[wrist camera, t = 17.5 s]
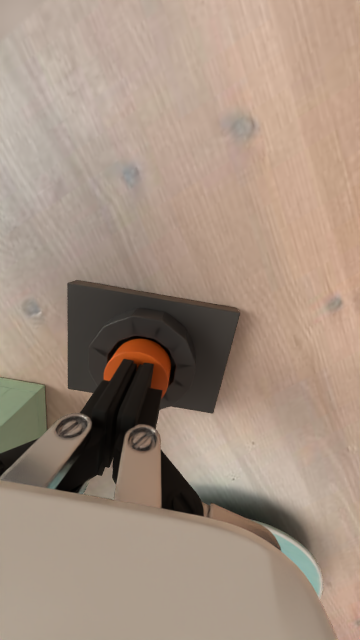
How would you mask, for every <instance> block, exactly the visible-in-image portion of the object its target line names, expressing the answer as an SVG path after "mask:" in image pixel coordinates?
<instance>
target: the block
mask: <svg viewBox="0 0 360 640" xmlns="http://www.w3.org/2000/svg"><path fill="white" fill-rule="evenodd" d="M239 316H240V312H239V311H238V309H237V308H234V307H228V306H222V305H217V304H211V303H205V302H199V301H194V300H188V299H182V298H176V297H171V296H165V295H159V294H153V293H148V292H142V291H136V290H131V289H125V288H119V287H113V286H108V285H102V284H96V283H90V282H85V281H79V280H76V281H73V282H69V283H68V389H73V390H79V391H85V392H91V393H94V391H95V390H96V388H97V387H98V386H99V384H100V383H101V381H102V380H104V370H105V367H106V365H107V364H108V362H109V361H110V359H111V358H112V356H113V355H114V354H115V352H116V351H117V349H118V348H119V347H120V346H121V345H122V344H123V343H125V342H127V341H129V340H132V339H148V340H151V341H154V342H156V343H157V344H159V345H160V346H161V347H163V349H164V350H165V351H166V352H167V354H168V356H169V358H170V362H171V371H170V377H169V383H168V388H167V391H166V393H165V395H164V396H163V397H162V398H161V403H160V409H163V408H166V407H170V406H172V407H178V408H184V409H190V410H196V411H201V412H207V413H213V412H214V409H215V405H216V401H217V397H218V394H219V390H220V386H221V383H222V379H223V375H224V371H225V368H226V364H227V360H228V357H229V353H230V349H231V345H232V342H233V338H234V334H235V331H236V327H237V323H238V319H239Z"/></svg>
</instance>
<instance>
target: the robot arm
mask: <svg viewBox="0 0 360 640" xmlns="http://www.w3.org/2000/svg"><path fill="white" fill-rule="evenodd" d="M153 368H154V364H151V363H145V362H144V363H143V365H141V364H140V365H139V367H138V369H137V364H136V363H134V360H128V359H123V360H122V362H121V364H120V365H119V367H118V368H117V370H116V372H115V373H114V375H113V377H112V378H111V380H110V381H107V380H102V381H101V383H100V384H99V386H98V387H97V388H96V390H95V391H94V393H93V394H92V396H91V397H90V399H89V400H88V402H87V403H86V405H85V406H84V408H83V409H82V411H81V412H80V413H72V414H68V415H65V416H63V417H61V418H60V419H58V420H57V421H56V422H55V423H54V424H53V425H52V426H51V427H50V428H49V429H48V430H47V431H46V432H45V433H44V434H43V435H42V436H41V437H40V438H38V439H35V440H33V441H30V442H28V443H25V444H23V445H20V446H18V447H15V448H13V449H10V450H8V451H5V452H3V453H0V640H338V638H337V636H336V633H335V631H334V629H333V626H332V624H331V622H330V620H329V618H328V615H327V613H326V611H325V609H324V607H323V605H322V603H321V601H320V599H319V597H318V595H317V593H316V591H315V590H314V588H313V586H312V585H311V583H310V582H309V580H308V579H307V577H306V576H305V574H304V573H303V572H302V571H301V570H300V568H299V567H298V566H297V565H296V564H295V563H294V562H293V561H292V560H291V559H289V558H288V557H287V556H286V555H285V554H284V553H282V551H281V547H280V545H279V543H278V541H277V539H276V537H275V536H274V535H273V534H272V533H271V532H270V531H269V530H268V529H267V528H265V527H264V526H262V525H260V524H258V523H256V522H254V521H251V520H249V519H247V518H245V517H242V516H240V515H238V514H236V513H233V512H231V511H229V510H227V509H224V508H222V507H220V506H218V505H215V504H213V503H211V504H210V505H207V504H205V503H203V502H202V501H201V499H200V498H199V496H198V495H197V493H196V492H195V491H194V490H193V488H192V487H191V486H190V485H189V483H188V482H187V481H186V480H185V478H184V477H183V476H182V475H181V474H180V472H179V471H178V470H177V469H176V467H175V466H174V465H173V464H172V462H171V461H170V460H169V459H168V458H167V456H166V455H165V454H164V453H163V451H162V450H161V439H160V434H159V433H158V431H157V430H156V424H157V419H158V414H159V409H160V403H161V397H162V391H163V390H159V389H153V388H151V381H152V374H153ZM136 370H137V371H136ZM112 459H113V475H112V478H113V480H114V482H115V484H116V488H115V494H114V500H112V499H106V498H101V497H95V496H89V495H83V493H84V492H85V490H86V488H87V486H88V484H89V480H90V479H91V478H93V477H95V476H96V475H101V476H102V474H103V471H104V469H105V467H107V468H109V467H110V465H111V462H112Z"/></svg>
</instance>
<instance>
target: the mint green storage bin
mask: <svg viewBox="0 0 360 640" xmlns="http://www.w3.org/2000/svg"><path fill="white" fill-rule="evenodd" d="M46 431H47V424H46V402H45V385H42V384H36V383H30V382H24V381H18V380H12V379H7V378H1V377H0V453H3V452H5V451H8V450H10V449H13V448H15V447H18V446H20V445H23V444H25V443H28V442H30V441H33V440H35V439H38V438H40V437H41V436H42V435H43V434H44V433H45V432H46Z"/></svg>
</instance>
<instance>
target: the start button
mask: <svg viewBox="0 0 360 640" xmlns="http://www.w3.org/2000/svg"><path fill="white" fill-rule="evenodd" d="M123 359H128V360H134V363H136V364H137V369H138V367H139V365H140V364H141V365H143V363H144V362H145V363H151V364H154V368H153V374H152V381H151V388H153V389H159V390H163V391H162V397H163V396H164V395H165V393H166V391H167V388H168V383H169V377H170V371H171V362H170V358H169V356H168V354H167V352H166V351H165V350H164V349H163V347H161V346H160V345H159V344H157V343H156V342H154V341H151V340H148V339H132V340H129V341H127V342H125V343H123V344H122V345H121V346H120V347H119V348H118V349H117V351H116V352H115V354H114V355H113V356H112V358H111V359H110V361H109V362H108V364H107V365H106V367H105V370H104V380H107V381H110V380H111V378H112V377H113V375H114V373H115V372H116V370H117V368H118V367H119V365H120V364H121V362H122V360H123ZM136 371H137V370H136ZM162 397H161V398H162Z"/></svg>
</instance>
